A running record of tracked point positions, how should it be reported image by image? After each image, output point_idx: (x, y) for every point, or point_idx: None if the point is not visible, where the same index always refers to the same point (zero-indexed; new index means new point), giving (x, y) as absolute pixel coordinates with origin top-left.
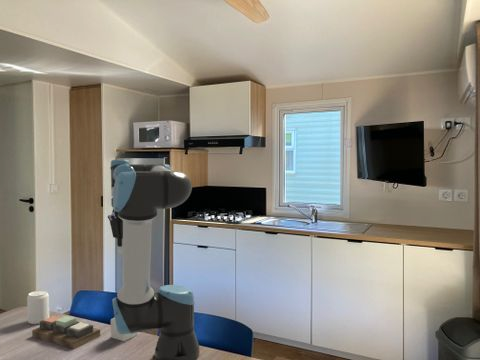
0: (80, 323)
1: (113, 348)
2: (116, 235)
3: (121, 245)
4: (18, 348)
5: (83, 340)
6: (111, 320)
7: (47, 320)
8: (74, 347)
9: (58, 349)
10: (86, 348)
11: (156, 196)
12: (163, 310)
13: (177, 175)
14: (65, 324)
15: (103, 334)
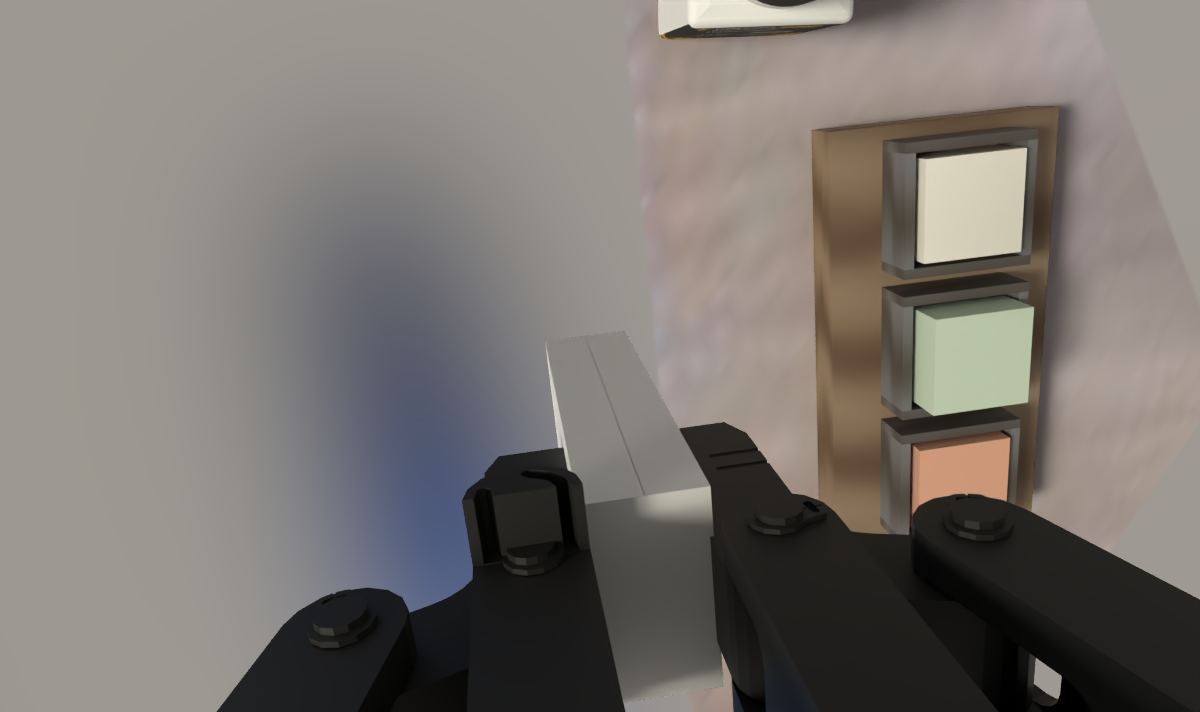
0: (939, 243)
1: None
2: (1074, 570)
3: (684, 434)
4: (1143, 404)
5: (969, 115)
6: (852, 6)
7: (997, 490)
8: (1032, 106)
9: (1069, 191)
10: (990, 39)
11: None
12: None
13: None
14: (1017, 304)
15: (781, 133)
